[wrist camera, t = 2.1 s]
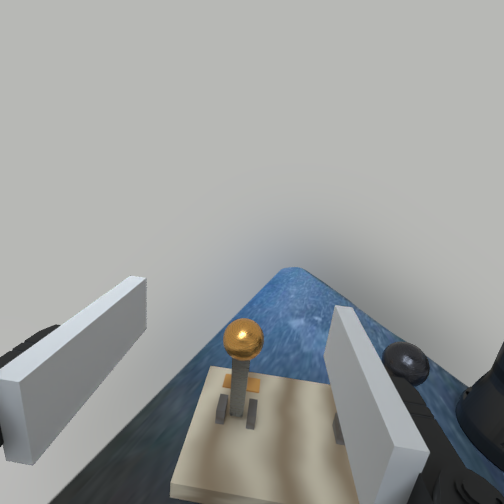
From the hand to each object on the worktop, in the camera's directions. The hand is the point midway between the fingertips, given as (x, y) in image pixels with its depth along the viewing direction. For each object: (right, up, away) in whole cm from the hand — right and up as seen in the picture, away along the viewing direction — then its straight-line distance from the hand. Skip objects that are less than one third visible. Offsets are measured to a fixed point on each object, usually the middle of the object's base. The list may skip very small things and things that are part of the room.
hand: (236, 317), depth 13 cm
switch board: (+5, -20, +20) cm, 29 cm away
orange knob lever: (-1, -15, +20) cm, 25 cm away
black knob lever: (+13, -17, +19) cm, 29 cm away
